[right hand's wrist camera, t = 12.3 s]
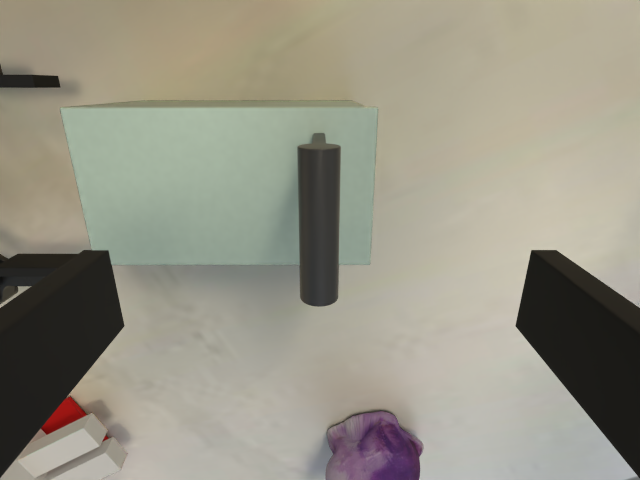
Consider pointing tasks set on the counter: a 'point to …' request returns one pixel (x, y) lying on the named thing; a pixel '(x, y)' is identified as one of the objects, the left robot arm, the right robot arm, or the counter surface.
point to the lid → (229, 186)
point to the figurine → (373, 449)
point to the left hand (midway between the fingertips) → (70, 181)
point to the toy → (68, 449)
